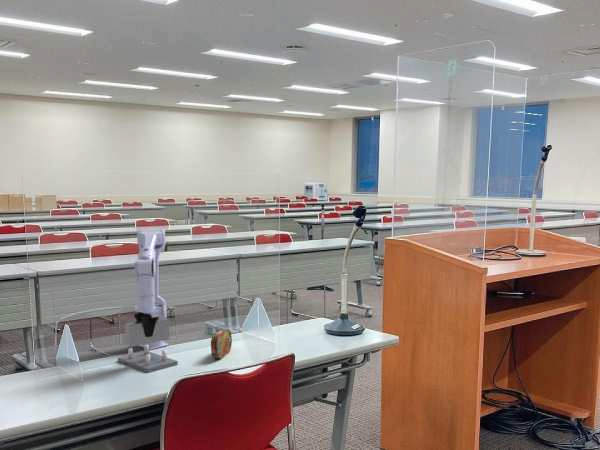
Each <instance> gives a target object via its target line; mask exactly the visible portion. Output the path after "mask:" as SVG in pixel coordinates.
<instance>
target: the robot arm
mask: <svg viewBox="0 0 600 450" xmlns="http://www.w3.org/2000/svg"><path fill="white" fill-rule="evenodd" d="M136 233H137V234H136V235H137V238H136V239H137V245H138V248H139V250H138V255H137V256H138V257H137V260H135V261H134V265H133V268H134V276H135V283H136V305H134V312H137V313H135V314H133V317H134V318H135V321H136V322H137V321H143V324H144V329H145V335H146V337H151V336H153V332H154V328H155V324H156V322H157V320H158V319H159V318H167V302H166V299H164V298H163V297H161V296H160V295H159V259H160V254H161V253H162V252H164V251H165V248H166V231H165V229H164V228H143V229H142V228H138V230H137V232H136ZM144 345H148V350H154V349H159V348H163V347H167V346H169V344H168V343H166V342H164V341H159V342H152V343H146V344H140V345H136V346H137V347H140V348H143V349H144Z"/></svg>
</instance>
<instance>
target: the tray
mask: <svg viewBox="0 0 600 450" xmlns="http://www.w3.org/2000/svg"><path fill="white" fill-rule="evenodd" d="M143 349H144V351H141V352H136V353H133V347H132V348H127V353H128V354H127V355H124V356H119V357H117V362H119V361H120V362H119V363H121V362H123V363H122V364H124V363H126V364H125V365H127V364H129V365H131V366H130V367H132V366H133V367H132V368H135V369H137V368H138V370H141V371H143V372H145V373H148V374H149V373H153V372H156V371H160V370H162V369H167V368H171V367H174V366H178V360H175V359H173V358H170V357H167V350H165V349H164V350H162V351H161V355H160V354H158V353H154V352H151V351H149V349H148V345H144V348H143ZM129 365H128V366H129Z"/></svg>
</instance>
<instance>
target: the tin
mask: <svg viewBox="0 0 600 450" xmlns="http://www.w3.org/2000/svg"><path fill="white" fill-rule="evenodd" d="M232 339H233V338H232V334H231V331H230V329H228V328H226V329H220V330H219V331H218V332H216V333H215V334H214V335H212V337H211V340H210V349H211V350H210V351H211V356H212V358H213V359H217V360H218V359H220V360H222V359H223V358H225V357H226V356H227V355H229V353H230V352H231V350H232V344H233V343H232V342H233V341H232Z"/></svg>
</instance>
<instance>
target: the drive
mask: <svg viewBox="0 0 600 450" xmlns="http://www.w3.org/2000/svg"><path fill="white" fill-rule="evenodd" d="M124 324H125V326H124V329H125V331H124V333H125V335H124V339H125V341H124V344H125V345H126V346H128V347H134V346H137V345H140V344H146V343H152V342H159V341H163V342H164V341H170V319H169V318H167V317H166V318H159V319H158V320H157V322H156V324H155V328H154V332H153V336H151V337H146V335H145V329H144V324H143V321H137V320H136V321H129V322H125V323H124Z"/></svg>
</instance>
